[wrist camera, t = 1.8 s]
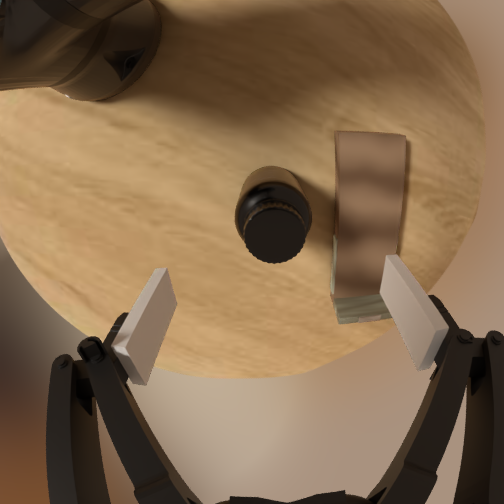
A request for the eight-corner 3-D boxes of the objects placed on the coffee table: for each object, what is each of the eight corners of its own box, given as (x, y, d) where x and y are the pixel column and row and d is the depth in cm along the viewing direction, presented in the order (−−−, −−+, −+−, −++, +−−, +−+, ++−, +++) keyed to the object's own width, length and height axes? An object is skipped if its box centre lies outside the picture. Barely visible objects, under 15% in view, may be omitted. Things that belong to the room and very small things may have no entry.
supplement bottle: (311, 203, 32) (334, 252, 21) (261, 230, 34) (259, 289, 23) (281, 153, 29) (292, 176, 19) (229, 183, 31) (211, 223, 21)
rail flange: (332, 130, 28) (348, 135, 22) (399, 134, 27) (426, 140, 22) (329, 295, 38) (337, 325, 32) (383, 290, 37) (398, 318, 32)
